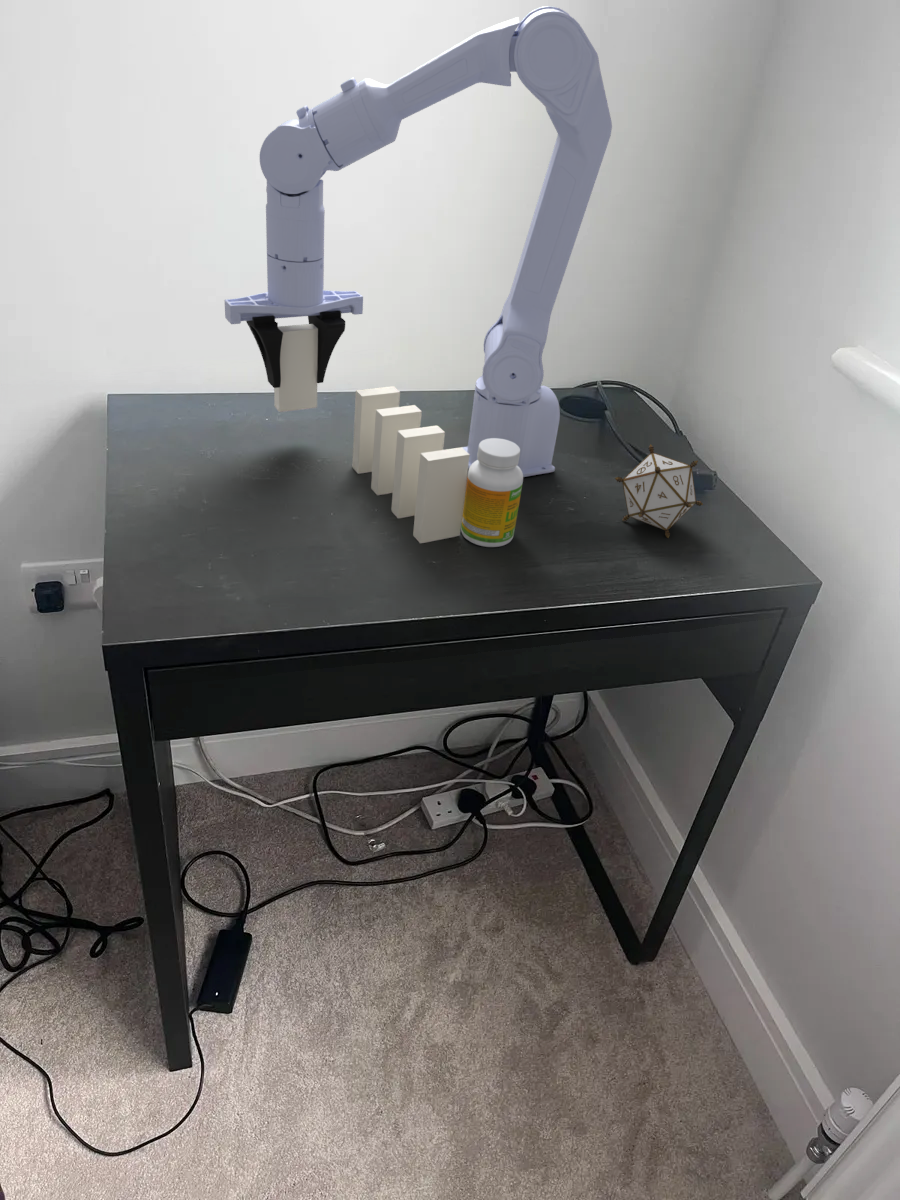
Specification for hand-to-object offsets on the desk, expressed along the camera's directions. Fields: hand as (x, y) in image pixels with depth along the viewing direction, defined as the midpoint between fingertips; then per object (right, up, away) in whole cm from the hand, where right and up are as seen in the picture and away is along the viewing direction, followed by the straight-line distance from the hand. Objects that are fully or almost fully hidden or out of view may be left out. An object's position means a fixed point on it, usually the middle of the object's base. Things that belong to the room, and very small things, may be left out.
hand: (295, 381), depth 100 cm
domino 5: (+16, -18, -9) cm, 25 cm away
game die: (+38, -16, -3) cm, 42 cm away
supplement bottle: (+21, -18, -8) cm, 28 cm away
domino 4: (+13, -15, -6) cm, 21 cm away
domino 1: (0, -2, +2) cm, 3 cm away
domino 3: (+11, -12, -3) cm, 16 cm away
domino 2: (+8, -9, +1) cm, 13 cm away
